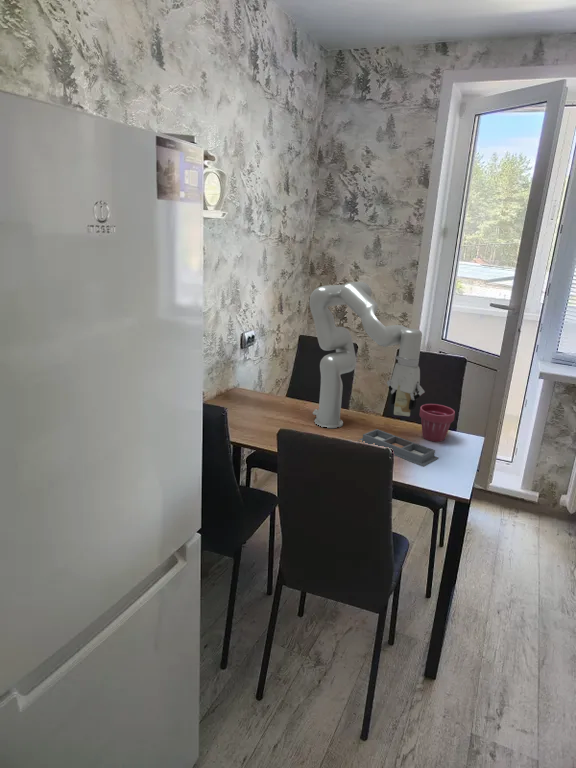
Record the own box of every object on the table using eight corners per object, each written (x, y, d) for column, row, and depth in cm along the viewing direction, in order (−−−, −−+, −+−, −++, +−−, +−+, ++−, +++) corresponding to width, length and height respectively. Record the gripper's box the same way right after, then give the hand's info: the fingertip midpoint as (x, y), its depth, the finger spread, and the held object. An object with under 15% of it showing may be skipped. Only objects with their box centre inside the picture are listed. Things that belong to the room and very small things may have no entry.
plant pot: (445, 447, 210) (450, 417, 207) (411, 438, 217) (415, 409, 213) (454, 436, 222) (458, 408, 218) (422, 428, 229) (426, 401, 225)
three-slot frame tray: (358, 440, 211) (359, 433, 210) (374, 434, 219) (375, 427, 218) (423, 466, 191) (424, 458, 190) (438, 458, 199) (439, 451, 198)
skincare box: (393, 415, 199) (397, 384, 196) (393, 411, 203) (396, 381, 200) (410, 416, 198) (414, 386, 195) (410, 413, 202) (414, 383, 199)
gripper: (383, 358, 198) (378, 402, 203) (423, 368, 186) (417, 414, 191) (394, 355, 203) (389, 398, 208) (434, 365, 192) (427, 410, 197)
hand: (402, 405), depth 200 cm, fingers closed on skincare box, 7 cm apart
